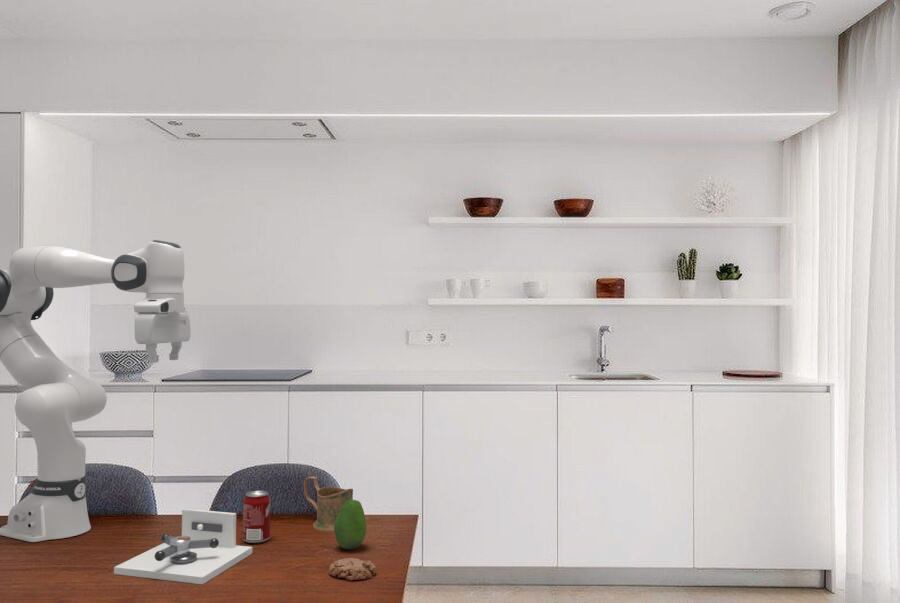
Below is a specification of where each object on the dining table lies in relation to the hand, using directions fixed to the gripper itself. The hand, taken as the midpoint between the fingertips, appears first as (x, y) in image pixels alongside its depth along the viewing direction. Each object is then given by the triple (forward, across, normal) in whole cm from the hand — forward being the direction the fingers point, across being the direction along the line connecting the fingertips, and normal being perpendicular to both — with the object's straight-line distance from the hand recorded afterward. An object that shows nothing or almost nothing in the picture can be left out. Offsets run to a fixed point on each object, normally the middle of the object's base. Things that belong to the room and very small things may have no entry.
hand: (164, 361), depth 181 cm
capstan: (+44, +15, +12) cm, 48 cm away
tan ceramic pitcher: (+46, -26, +34) cm, 63 cm away
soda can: (+46, -8, +21) cm, 51 cm away
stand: (+46, +10, +12) cm, 48 cm away
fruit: (+46, -6, +46) cm, 66 cm away
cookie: (+46, +10, +52) cm, 70 cm away
